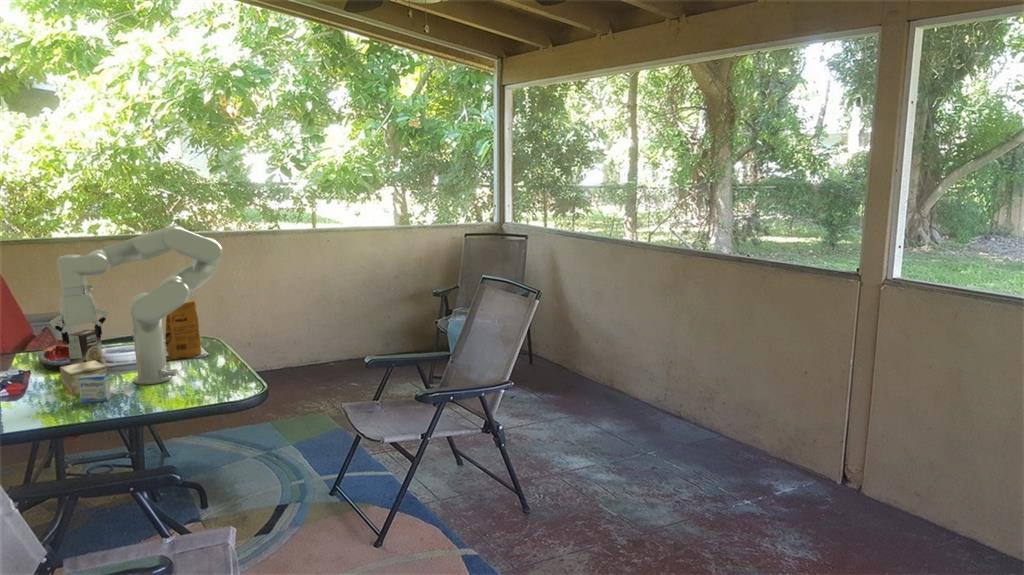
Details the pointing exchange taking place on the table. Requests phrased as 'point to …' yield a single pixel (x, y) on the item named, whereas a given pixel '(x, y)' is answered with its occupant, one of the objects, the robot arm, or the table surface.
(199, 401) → the table surface
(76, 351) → the coffee box
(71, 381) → the carton
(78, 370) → the carton lid
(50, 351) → the dish
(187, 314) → the coffee package
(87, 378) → the medicine box
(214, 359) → the table surface
